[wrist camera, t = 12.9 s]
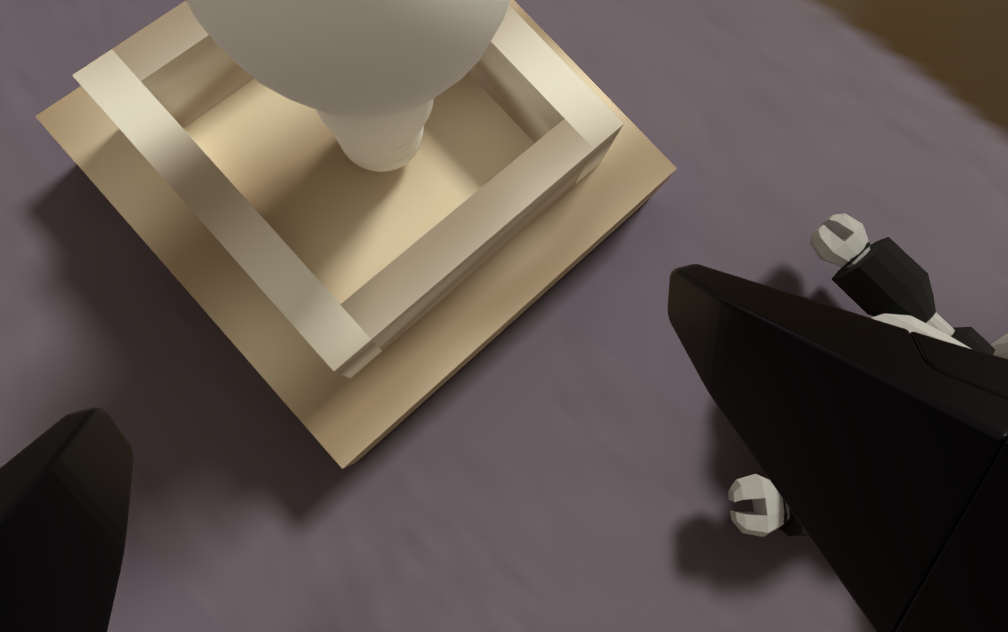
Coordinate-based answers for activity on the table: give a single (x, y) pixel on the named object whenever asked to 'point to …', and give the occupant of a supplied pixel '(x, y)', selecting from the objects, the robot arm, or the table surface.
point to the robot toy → (881, 293)
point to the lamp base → (356, 211)
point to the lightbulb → (357, 61)
